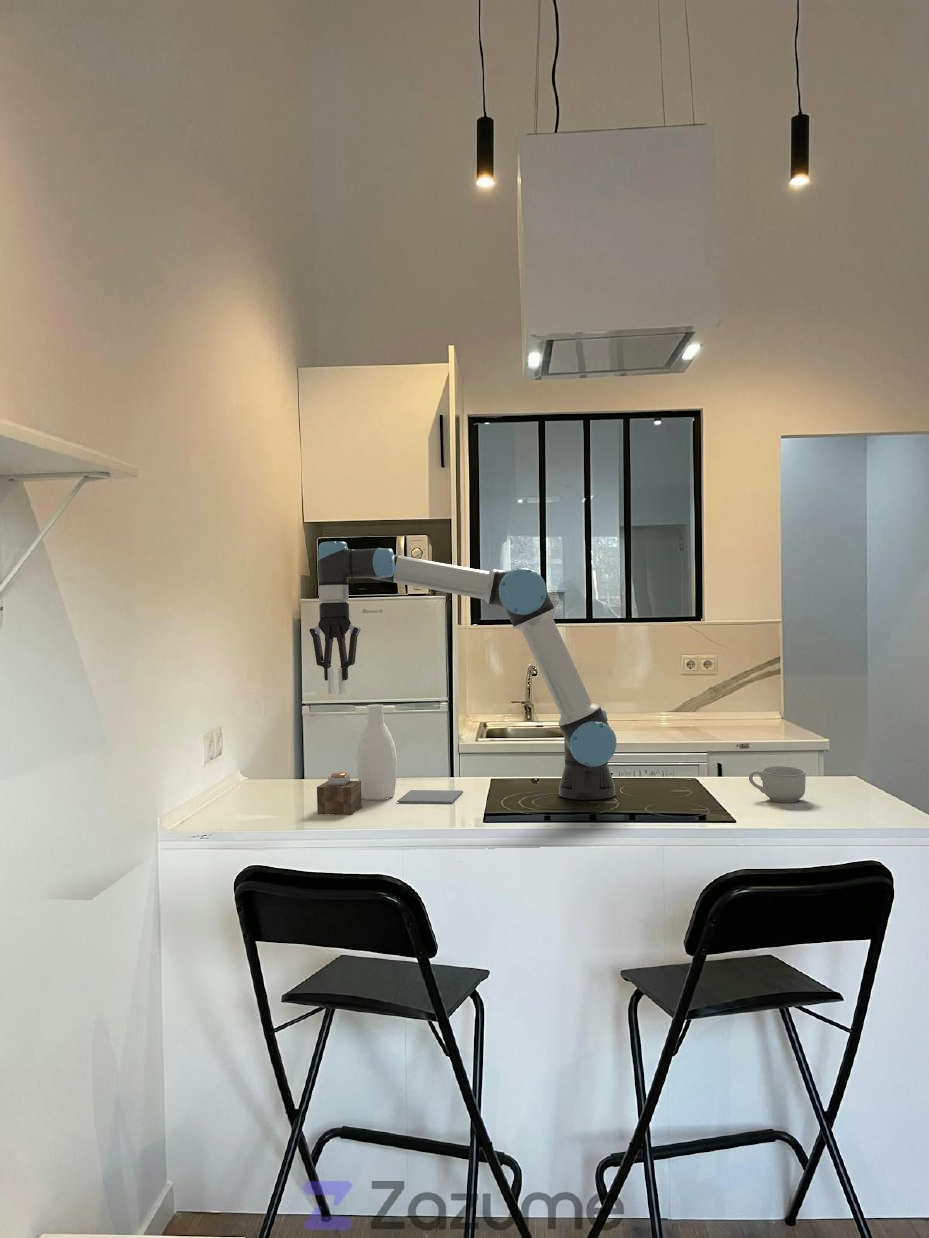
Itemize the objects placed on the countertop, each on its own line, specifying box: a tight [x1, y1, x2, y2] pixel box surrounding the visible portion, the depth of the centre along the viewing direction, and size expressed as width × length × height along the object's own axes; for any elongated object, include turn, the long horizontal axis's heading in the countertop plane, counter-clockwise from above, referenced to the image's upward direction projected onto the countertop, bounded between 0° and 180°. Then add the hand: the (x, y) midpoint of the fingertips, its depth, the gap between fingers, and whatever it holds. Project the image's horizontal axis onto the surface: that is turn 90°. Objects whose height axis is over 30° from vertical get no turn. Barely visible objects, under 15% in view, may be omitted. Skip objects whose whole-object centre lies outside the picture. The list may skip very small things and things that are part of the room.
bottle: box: [356, 703, 398, 801], centre depth 264 cm, size 11×11×25 cm
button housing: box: [316, 780, 363, 816], centre depth 247 cm, size 9×9×7 cm
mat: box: [396, 789, 464, 805], centre depth 261 cm, size 15×15×1 cm
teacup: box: [748, 765, 807, 804], centre depth 246 cm, size 14×11×8 cm
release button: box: [327, 772, 351, 786], centre depth 247 cm, size 4×4×6 cm
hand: (336, 693), depth 247 cm, fingers open, 2 cm apart
